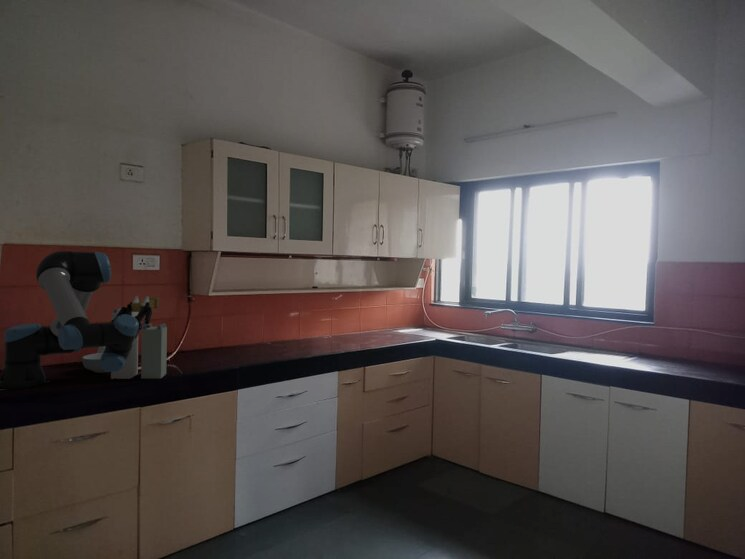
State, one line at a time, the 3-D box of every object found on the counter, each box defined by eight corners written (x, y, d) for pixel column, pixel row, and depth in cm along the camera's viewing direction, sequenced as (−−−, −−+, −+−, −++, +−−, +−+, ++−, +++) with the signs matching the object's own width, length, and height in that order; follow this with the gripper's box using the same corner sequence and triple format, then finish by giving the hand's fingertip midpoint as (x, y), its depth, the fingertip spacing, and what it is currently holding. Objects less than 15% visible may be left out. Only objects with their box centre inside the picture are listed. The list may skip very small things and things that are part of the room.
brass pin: (130, 313, 189) (130, 301, 189) (147, 307, 212) (148, 297, 212) (142, 313, 190) (142, 301, 190) (158, 307, 213) (159, 297, 212)
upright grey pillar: (141, 378, 212) (141, 325, 211) (147, 373, 221) (148, 323, 220) (160, 378, 213) (161, 326, 213) (166, 373, 222) (167, 323, 222)
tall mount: (110, 378, 210) (111, 309, 209) (118, 373, 219) (119, 307, 218) (131, 378, 212) (132, 309, 211) (137, 373, 220) (138, 307, 219)
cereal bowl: (119, 365, 236) (119, 350, 236) (129, 372, 223) (130, 356, 223) (78, 369, 225) (78, 354, 224) (86, 377, 212) (87, 360, 212)
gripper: (102, 344, 178) (122, 306, 198) (150, 344, 181) (165, 306, 200) (98, 327, 174) (119, 290, 194) (147, 328, 177) (163, 291, 196)
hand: (142, 298), depth 197 cm, fingers closed on brass pin, 3 cm apart
